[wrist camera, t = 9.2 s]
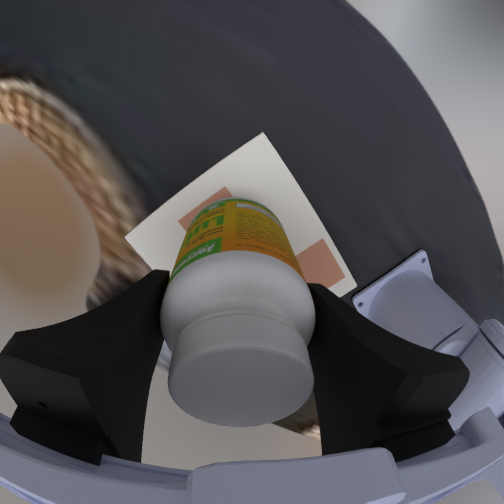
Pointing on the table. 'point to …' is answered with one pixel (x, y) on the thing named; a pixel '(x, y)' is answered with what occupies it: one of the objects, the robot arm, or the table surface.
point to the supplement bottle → (238, 318)
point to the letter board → (256, 188)
